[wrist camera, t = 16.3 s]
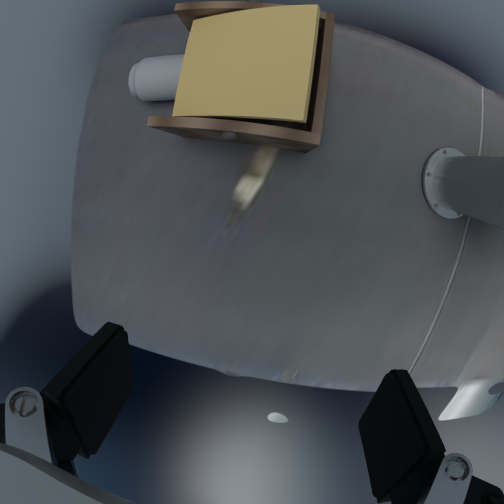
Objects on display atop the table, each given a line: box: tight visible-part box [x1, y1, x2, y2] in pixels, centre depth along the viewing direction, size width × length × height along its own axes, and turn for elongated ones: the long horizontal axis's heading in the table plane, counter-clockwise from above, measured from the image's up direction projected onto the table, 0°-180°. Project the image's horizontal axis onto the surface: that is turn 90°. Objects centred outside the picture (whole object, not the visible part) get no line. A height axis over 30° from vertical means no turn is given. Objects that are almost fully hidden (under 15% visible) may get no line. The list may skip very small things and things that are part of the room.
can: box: [129, 54, 185, 102], centre depth 35 cm, size 8×8×12 cm
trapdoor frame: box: [147, 0, 335, 153], centre depth 31 cm, size 19×19×14 cm
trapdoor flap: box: [172, 5, 320, 123], centre depth 25 cm, size 16×14×1 cm
